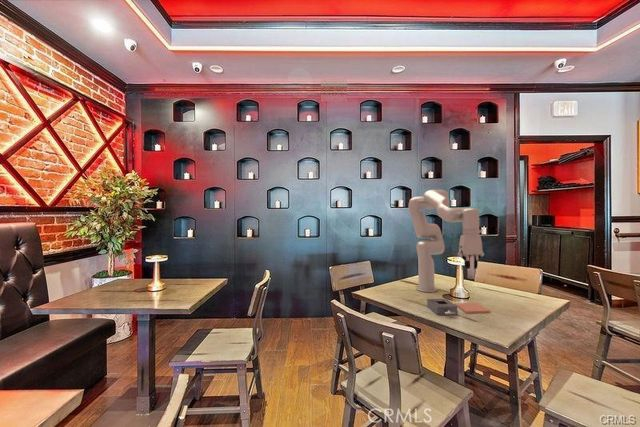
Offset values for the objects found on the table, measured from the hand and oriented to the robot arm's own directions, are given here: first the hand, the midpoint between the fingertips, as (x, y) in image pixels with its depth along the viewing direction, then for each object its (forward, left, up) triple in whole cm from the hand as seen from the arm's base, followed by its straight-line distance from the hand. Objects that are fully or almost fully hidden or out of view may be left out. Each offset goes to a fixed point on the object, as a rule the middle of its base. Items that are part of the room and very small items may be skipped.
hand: (471, 267), depth 147 cm
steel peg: (0, 0, -5) cm, 5 cm away
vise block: (+3, -16, -21) cm, 27 cm away
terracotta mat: (0, 0, -21) cm, 21 cm away
